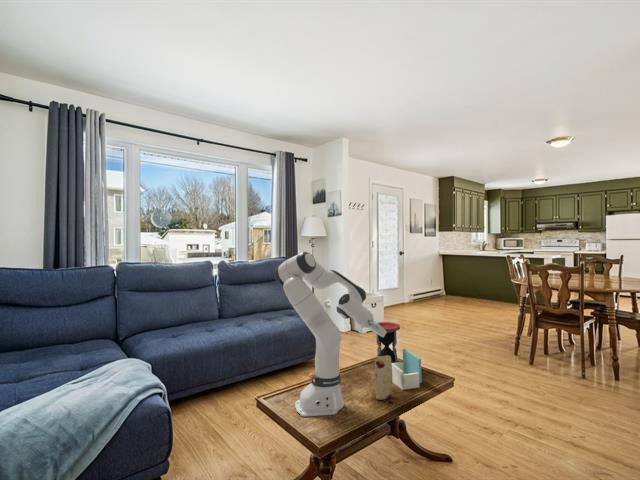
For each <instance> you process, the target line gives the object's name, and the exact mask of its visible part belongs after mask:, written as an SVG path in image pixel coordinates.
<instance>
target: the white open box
mask: <svg viewBox="0 0 640 480" xmlns="http://www.w3.org/2000/svg"><path fill="white" fill-rule="evenodd" d="M392 376H393V379H392V383H393V384H395V385H396V386H397V387H398V388H399V389H401V390H402V391H404V390H410V389H411V390H412V389H417V388H420V383H419V373H418V372H417V373H411V374H407V373H406V372H404V363H403V361H397V363H392Z"/></svg>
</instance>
